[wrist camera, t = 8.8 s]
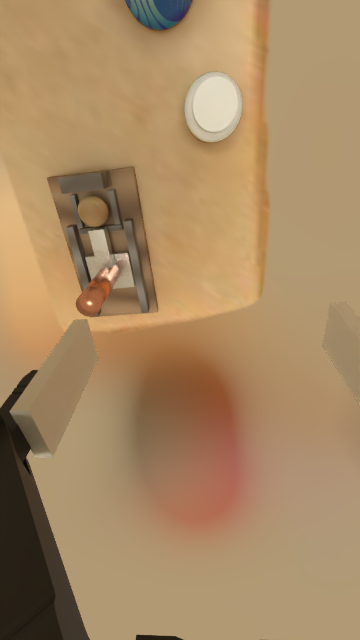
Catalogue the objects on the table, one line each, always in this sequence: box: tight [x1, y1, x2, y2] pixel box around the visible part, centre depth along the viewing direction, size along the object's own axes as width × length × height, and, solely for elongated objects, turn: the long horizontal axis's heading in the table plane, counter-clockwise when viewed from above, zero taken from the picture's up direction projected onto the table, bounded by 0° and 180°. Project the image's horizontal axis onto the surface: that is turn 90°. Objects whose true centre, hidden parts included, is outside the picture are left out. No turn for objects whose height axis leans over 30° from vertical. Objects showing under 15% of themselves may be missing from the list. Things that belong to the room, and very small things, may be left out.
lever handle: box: [76, 227, 136, 316], centre depth 44 cm, size 10×7×13 cm
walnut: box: [78, 195, 109, 227], centre depth 44 cm, size 4×4×4 cm
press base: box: [47, 167, 158, 317], centre depth 48 cm, size 24×13×6 cm, turn 6°
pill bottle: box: [184, 72, 242, 143], centre depth 35 cm, size 6×6×12 cm
